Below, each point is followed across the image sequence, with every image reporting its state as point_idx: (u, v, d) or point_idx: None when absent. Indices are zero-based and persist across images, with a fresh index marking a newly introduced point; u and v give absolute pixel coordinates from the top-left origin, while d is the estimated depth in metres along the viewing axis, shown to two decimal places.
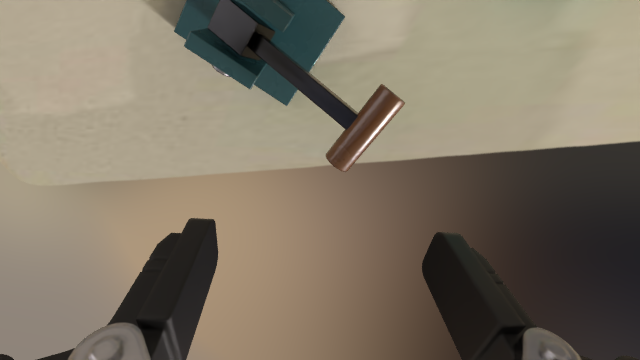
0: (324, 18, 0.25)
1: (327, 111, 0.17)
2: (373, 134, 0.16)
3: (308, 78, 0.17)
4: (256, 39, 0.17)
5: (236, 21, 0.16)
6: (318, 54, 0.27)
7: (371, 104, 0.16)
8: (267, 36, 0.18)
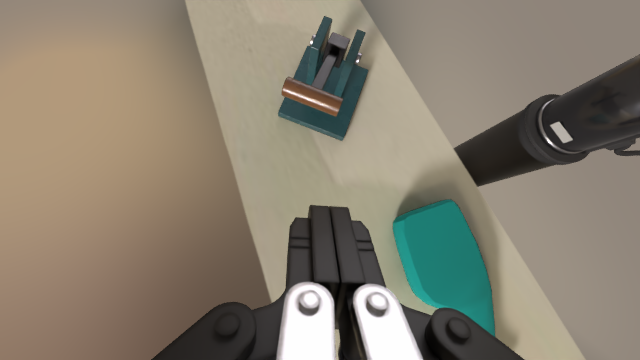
0: (339, 126, 0.40)
1: (316, 77, 0.27)
2: (315, 96, 0.25)
3: (329, 70, 0.28)
4: (336, 52, 0.31)
5: (341, 42, 0.31)
6: (318, 126, 0.39)
7: None
8: (336, 61, 0.32)
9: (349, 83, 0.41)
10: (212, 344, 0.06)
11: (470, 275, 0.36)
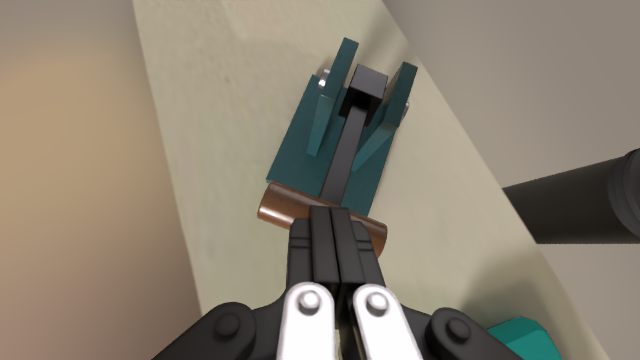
0: (359, 200, 0.26)
1: (330, 172, 0.13)
2: None
3: (354, 149, 0.15)
4: (364, 102, 0.17)
5: (375, 84, 0.17)
6: None
7: (362, 216, 0.12)
8: None
9: None
10: (213, 344, 0.06)
11: None
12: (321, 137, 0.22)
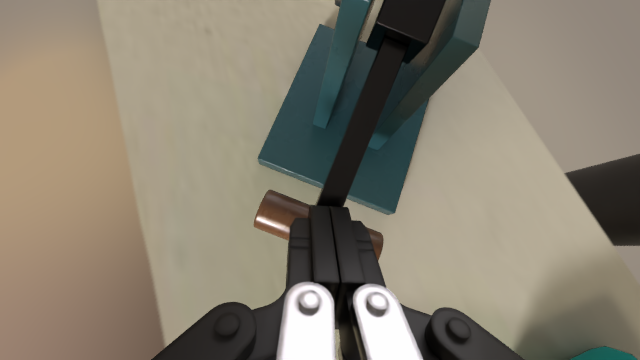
0: (384, 187, 0.19)
1: (330, 178, 0.12)
2: None
3: (367, 138, 0.12)
4: (401, 42, 0.11)
5: (424, 6, 0.10)
6: None
7: None
8: None
9: None
10: (212, 344, 0.06)
11: None
12: (336, 92, 0.15)
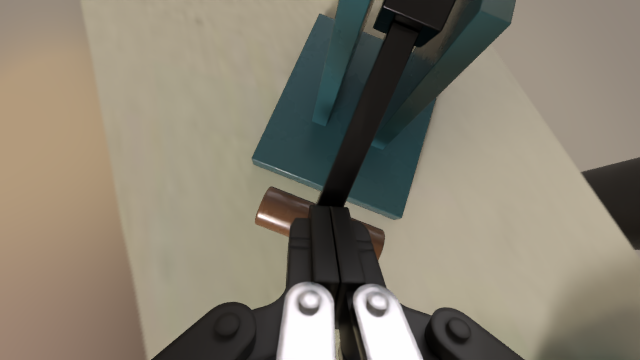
0: (390, 189, 0.17)
1: (331, 177, 0.11)
2: None
3: (370, 136, 0.11)
4: (411, 28, 0.10)
5: None
6: None
7: None
8: None
9: None
10: (213, 344, 0.06)
11: None
12: (338, 84, 0.13)
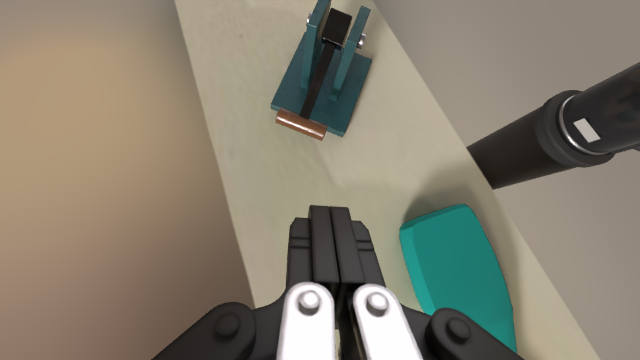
0: (339, 120, 0.35)
1: (305, 101, 0.29)
2: (301, 131, 0.30)
3: (320, 84, 0.29)
4: (332, 44, 0.28)
5: (339, 30, 0.27)
6: (315, 120, 0.35)
7: (316, 125, 0.30)
8: (336, 48, 0.29)
9: (351, 73, 0.37)
10: (213, 345, 0.06)
11: (488, 291, 0.31)
12: (310, 66, 0.31)
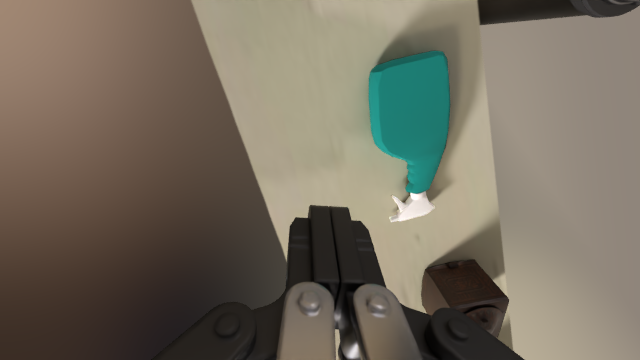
0: None
1: None
2: None
3: None
4: None
5: None
6: None
7: None
8: None
9: None
10: (212, 345, 0.06)
11: (430, 132, 0.38)
12: None
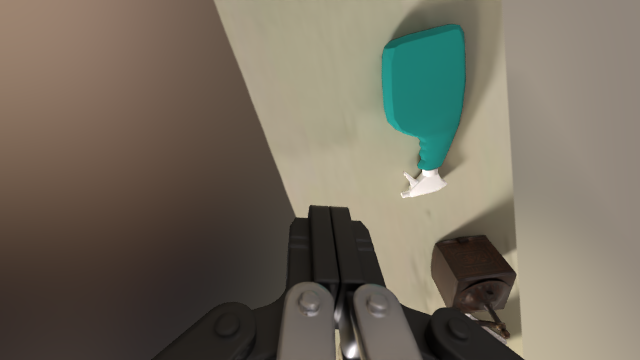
0: None
1: None
2: None
3: None
4: None
5: None
6: None
7: None
8: None
9: None
10: (212, 344, 0.06)
11: (444, 110, 0.37)
12: None
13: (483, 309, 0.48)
